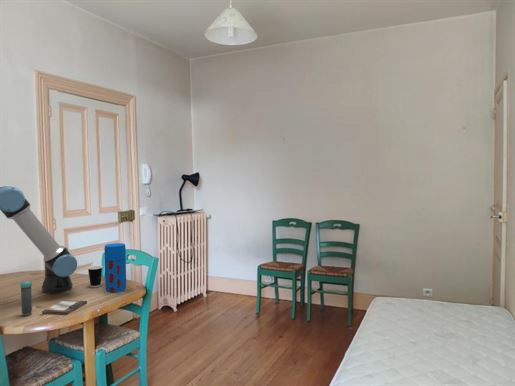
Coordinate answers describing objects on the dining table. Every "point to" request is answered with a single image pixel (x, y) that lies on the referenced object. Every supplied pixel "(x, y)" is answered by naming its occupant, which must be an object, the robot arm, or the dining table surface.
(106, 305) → the dining table surface
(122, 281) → the thermos
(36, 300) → the dining table surface
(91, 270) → the dixie cup
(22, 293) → the marker
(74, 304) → the brown picture frame
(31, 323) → the dining table surface
